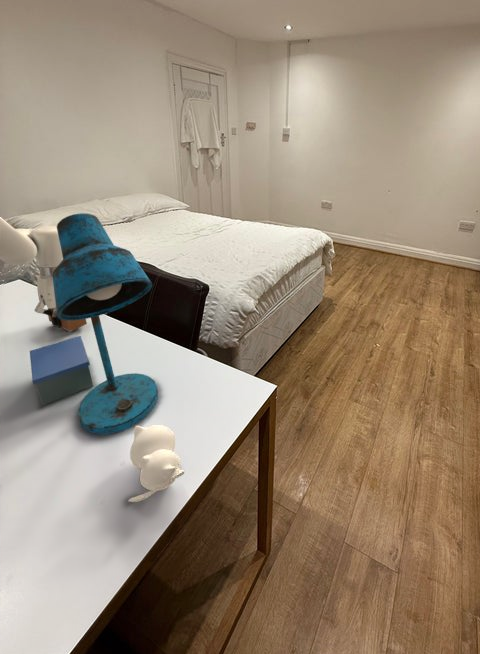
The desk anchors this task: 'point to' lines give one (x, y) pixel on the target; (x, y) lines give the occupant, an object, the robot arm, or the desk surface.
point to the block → (71, 324)
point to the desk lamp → (97, 299)
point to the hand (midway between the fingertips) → (67, 321)
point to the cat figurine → (155, 458)
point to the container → (60, 369)
